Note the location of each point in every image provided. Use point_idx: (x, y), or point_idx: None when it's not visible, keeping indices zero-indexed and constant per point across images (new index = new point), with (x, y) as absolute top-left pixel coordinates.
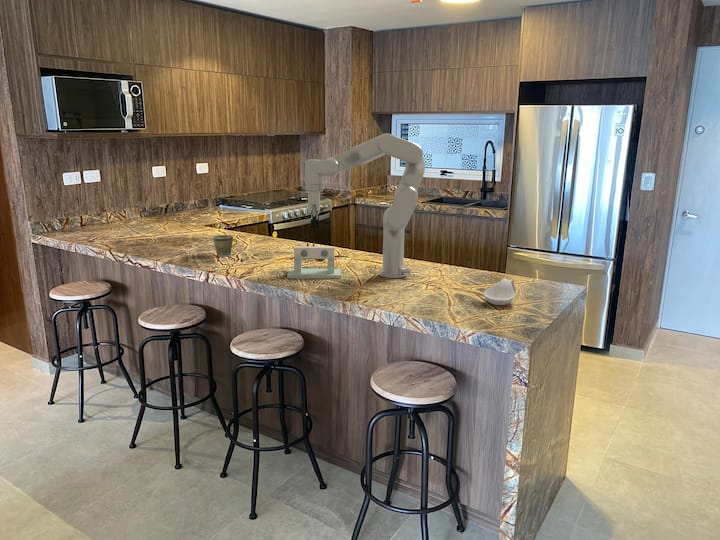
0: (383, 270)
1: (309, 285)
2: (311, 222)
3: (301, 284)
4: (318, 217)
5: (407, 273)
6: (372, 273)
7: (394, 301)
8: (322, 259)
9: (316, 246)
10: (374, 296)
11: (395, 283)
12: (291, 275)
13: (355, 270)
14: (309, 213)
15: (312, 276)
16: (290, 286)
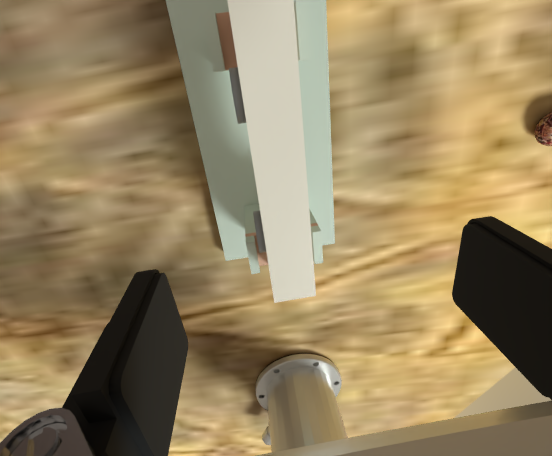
0: (286, 380)
1: (75, 145)
2: (105, 346)
3: (77, 102)
4: (537, 380)
5: (266, 428)
6: (313, 334)
7: (12, 415)
8: (535, 132)
9: (306, 190)
10: (36, 371)
11: (203, 397)
12: (170, 17)
13: (352, 282)
14: (396, 435)
15: (199, 140)
16: (14, 47)
